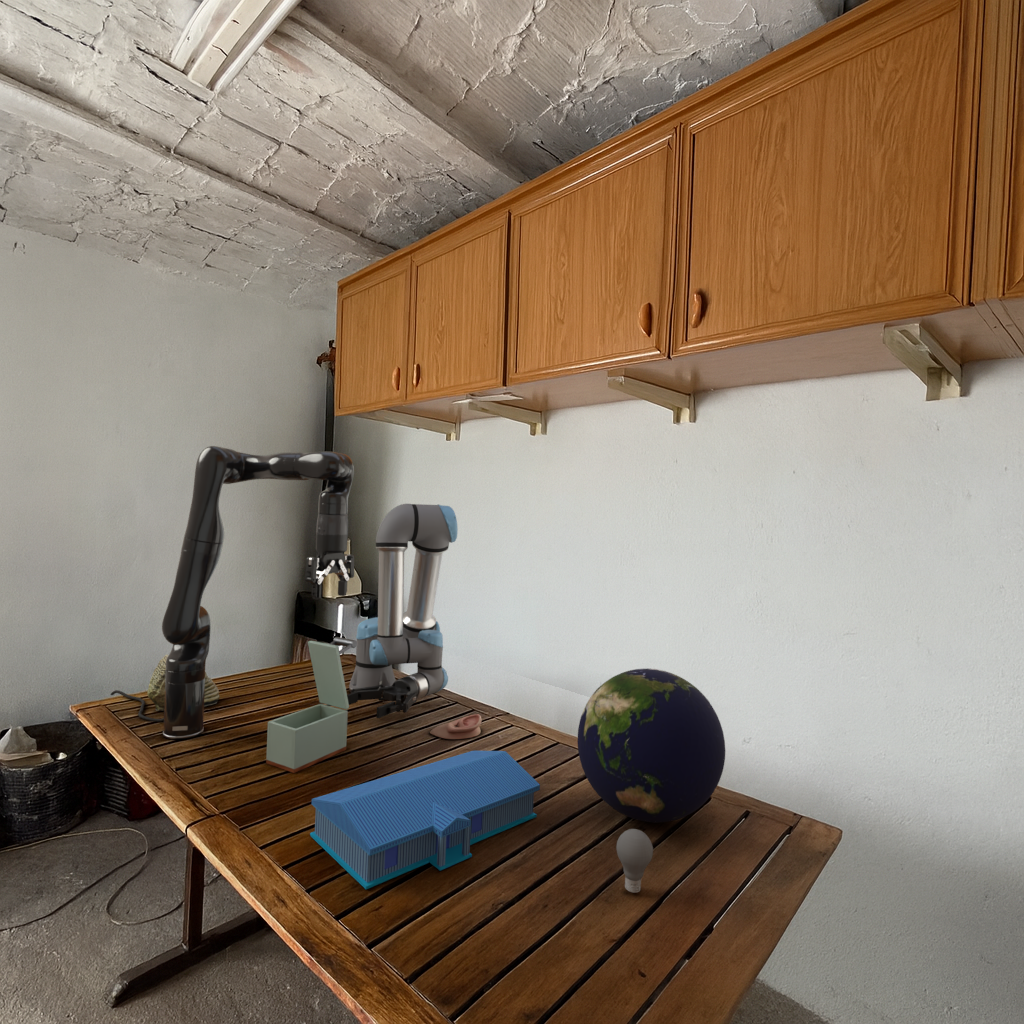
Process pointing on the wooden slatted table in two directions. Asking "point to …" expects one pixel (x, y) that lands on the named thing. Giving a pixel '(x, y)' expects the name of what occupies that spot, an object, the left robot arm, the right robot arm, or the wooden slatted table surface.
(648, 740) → the globe
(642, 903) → the wooden slatted table surface
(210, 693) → the fossil
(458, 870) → the wooden slatted table surface
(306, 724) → the chest
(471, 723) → the anatomical model
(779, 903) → the wooden slatted table surface
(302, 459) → the left robot arm
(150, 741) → the wooden slatted table surface
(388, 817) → the model building
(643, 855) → the light bulb
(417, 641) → the right robot arm
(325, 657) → the lid
